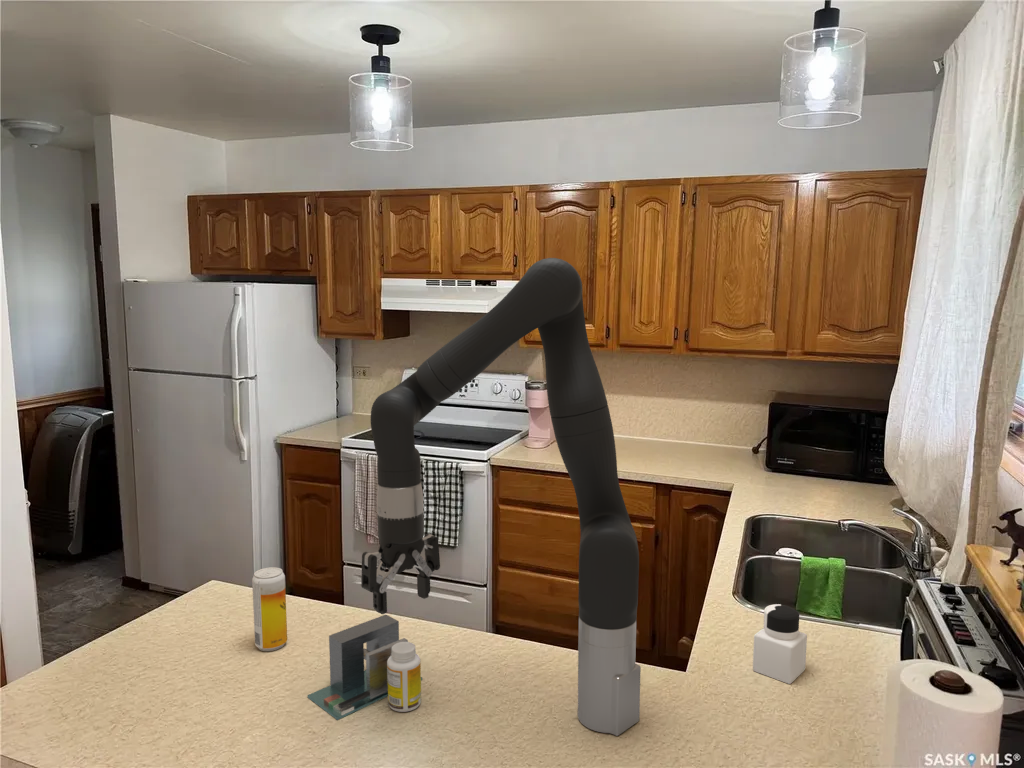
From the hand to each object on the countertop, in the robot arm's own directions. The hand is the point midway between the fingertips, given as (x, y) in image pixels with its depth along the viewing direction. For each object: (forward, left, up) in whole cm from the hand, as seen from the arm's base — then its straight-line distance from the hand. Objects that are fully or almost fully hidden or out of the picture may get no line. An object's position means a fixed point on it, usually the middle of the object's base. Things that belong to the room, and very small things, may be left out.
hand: (402, 604), depth 120 cm
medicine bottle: (-40, -55, -18) cm, 71 cm away
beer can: (+36, +6, -18) cm, 40 cm away
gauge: (+9, +2, -18) cm, 20 cm away
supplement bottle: (0, 0, -18) cm, 18 cm away
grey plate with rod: (+8, +3, -17) cm, 19 cm away
